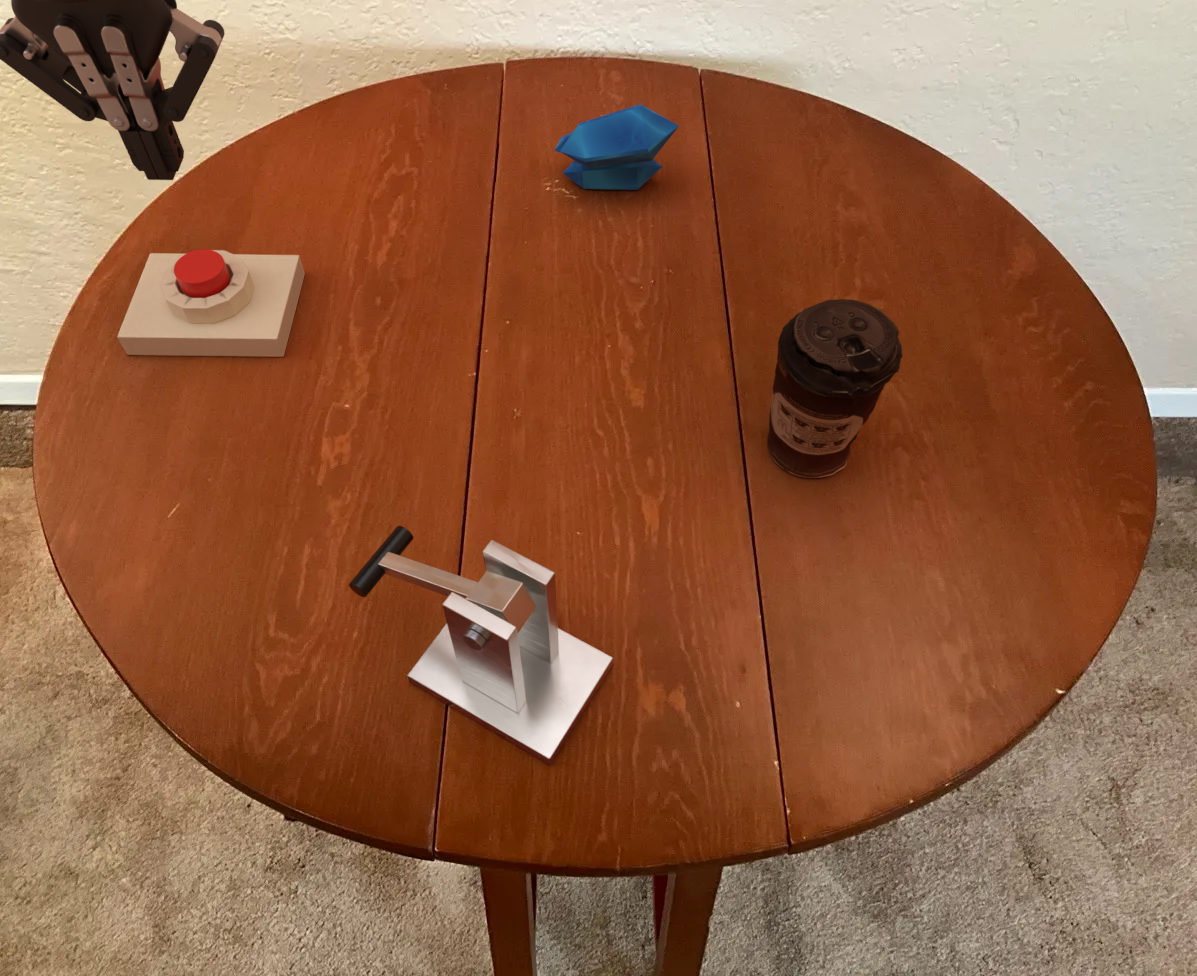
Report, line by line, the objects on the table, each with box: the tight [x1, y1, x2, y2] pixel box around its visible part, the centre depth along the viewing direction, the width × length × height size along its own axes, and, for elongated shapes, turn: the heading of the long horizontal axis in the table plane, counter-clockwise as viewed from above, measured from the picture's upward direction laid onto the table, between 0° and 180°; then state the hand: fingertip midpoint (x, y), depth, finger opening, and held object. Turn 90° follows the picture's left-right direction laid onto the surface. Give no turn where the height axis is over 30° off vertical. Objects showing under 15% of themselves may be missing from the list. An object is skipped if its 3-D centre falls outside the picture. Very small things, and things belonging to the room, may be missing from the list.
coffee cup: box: [766, 298, 903, 479], centre depth 70 cm, size 9×8×13 cm
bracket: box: [406, 539, 614, 766], centre depth 59 cm, size 11×8×12 cm
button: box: [174, 248, 230, 298], centre depth 79 cm, size 4×4×2 cm
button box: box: [117, 249, 306, 358], centre depth 81 cm, size 13×10×4 cm
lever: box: [348, 525, 536, 633], centre depth 59 cm, size 12×5×2 cm, turn 60°
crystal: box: [553, 103, 680, 191], centre depth 90 cm, size 7×9×12 cm
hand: (164, 172), depth 61 cm, fingers closed
